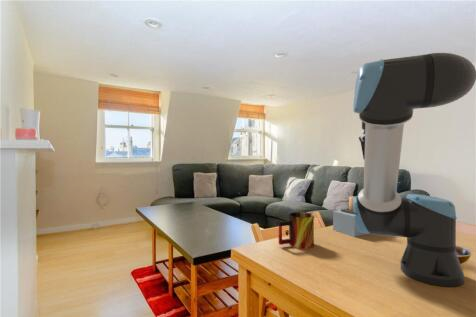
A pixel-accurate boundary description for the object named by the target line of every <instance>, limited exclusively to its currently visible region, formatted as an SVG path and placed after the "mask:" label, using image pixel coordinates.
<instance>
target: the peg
mask: <svg viewBox="0 0 476 317" xmlns="http://www.w3.org/2000/svg"><path fill="white" fill-rule="evenodd" d="M354 197H355V196H349V197H348V204H349V205H348V208H349V210H350V211H354V208H353V198H354Z"/></svg>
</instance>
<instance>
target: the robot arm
mask: <svg viewBox="0 0 476 317" xmlns="http://www.w3.org/2000/svg"><path fill="white" fill-rule="evenodd" d="M355 80H356V81H355V87H354V94H353V95H354V97H353V104H352V105H353V106H352V107H353V112H354V113H356V114H359V115H358V116H359V118H358V119H360V121H361V129H362V130H363V134H362V136H359V137H358V140H359V142H360V146H361V152H362V158H363V160H364V167H363V168H364V169H363V188H362V189H360V190H359V192H358V195H356V196H353V197H354V198H353V208H354V217H355V223H356V227H357V230H358V231H359V232H361V233H367V234H366V235H375V236H376V235H377V236H387V237H398V238H399V237H400V238H406V248H405V249H404V251H403V254H402V256H401V260H400V270H401V272H402V273H403V274H404V275H405V276H408V277H409V278H411V279H414V280H416V281H419V282H421V283H426V284H428V285H429V284H430V285H433V286H434V285H435V286H440V287H459V286H461V285H463V284H464V283H465V273H464V270H463V268H462V265H461V262H460V260H459V257H458V255H457V249H456V248H457V247H456V246H457V244H456V242H457V239H456V238H457V223H456V222H457V221H456V220H457V213H456V206H455V204H454V203H453V202H452V201H451V200H448V199H444V198H441V197H436V196H432V195H425V194H421V193H420V194H418V193H408V194H406V196H405V198H402V197H401V195H400V193H399V192H397V189H398V182H399V171H400V161H401V153H402V145H403V144H402V143H403V135H404V128H405V127H404V126H405V124H406V123H407V122H409V121H410V120H412V118H413V114H414V110H415V109H425V108H426V109H427V108H436V107H441V106H444V105H445V106H446V105H449V104H451V103H452V102H455V101H458V100H459V99H462V98H463V97H464V96H466V95H468V93H469V92H470V91H471V90H472V88H473V87H474V85H475V84H476V67H475V65H474V64H473V62H472V61H471V60H469V59H468V58H466V57H464V56H462V55H458V54H455V53H452V52H451V53H450V52H434V53H433V52H431V53H427V54H426V53H425V54H420V55H412V56H404V57H397V58H388V59H380V60H377V61H376V60H375V61H370V62H365V63H364V64H362V65H361V66H360V67H359V69H358V72H357V75H356V79H355Z"/></svg>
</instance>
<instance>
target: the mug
mask: <svg viewBox="0 0 476 317" xmlns="http://www.w3.org/2000/svg"><path fill="white" fill-rule="evenodd" d="M314 218H315V216H314V214H313V213H310V212H304V211H303V212H302V211H301V212H300V211H297V212H290V213H289V214H288V220H284V221H278V245H287V244H289V246H290V245H291V247H292V246H293V247H292V248H295V247H296V248H295V249H300V248H301V249H303V250H307V249H311V248H312V249H313V247H314V246H315V237H314V236H315V234H314V233H315V227H314V224H315V222H314V221H315V219H314ZM283 227H289V228H288V231H289V232H288V238H285V239H283ZM301 249H300V250H301Z"/></svg>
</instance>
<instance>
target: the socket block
mask: <svg viewBox="0 0 476 317" xmlns="http://www.w3.org/2000/svg"><path fill="white" fill-rule="evenodd" d="M332 223H333V224H332V225H333V226H332V227H333V228H332V230H333V231H334V230H336V231H335V232H338V231H339V232H338V233H341V234H343V235H348V236H350V237H353V238H355V237H361V236H366V235H368V234H367V233H361V232H359V231H358V230H357V227H356V223H355V217H354V211H350V210H349V207H348V208H346V207H345V208H341V209H339V210H333V211H332Z"/></svg>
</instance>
